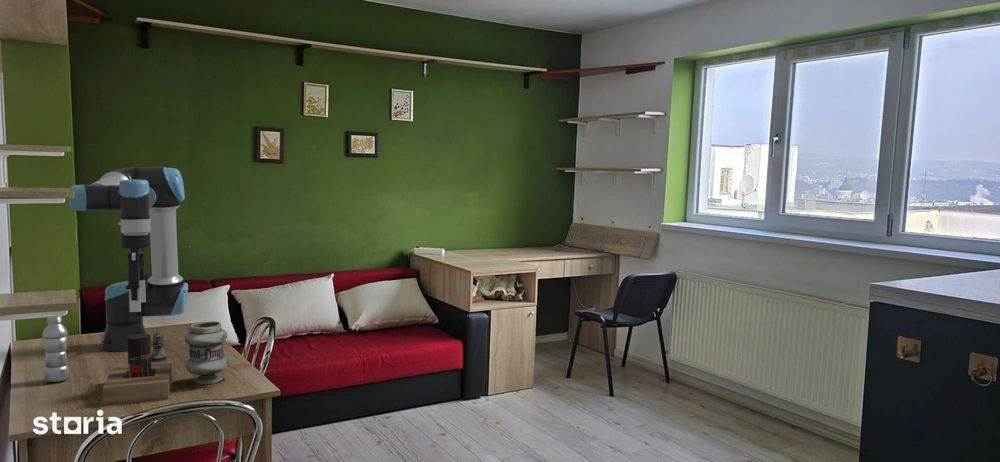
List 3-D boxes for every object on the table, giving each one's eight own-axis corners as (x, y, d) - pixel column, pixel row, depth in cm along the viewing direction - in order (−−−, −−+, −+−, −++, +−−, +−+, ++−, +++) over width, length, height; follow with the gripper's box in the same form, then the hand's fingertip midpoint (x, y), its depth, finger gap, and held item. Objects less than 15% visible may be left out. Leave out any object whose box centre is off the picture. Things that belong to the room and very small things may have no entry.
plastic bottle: (51, 378, 209) (48, 313, 207) (74, 377, 210) (71, 313, 208) (38, 384, 203) (36, 318, 201) (62, 384, 203) (60, 318, 202)
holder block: (114, 381, 207) (114, 365, 206) (173, 376, 213) (172, 360, 212) (103, 405, 187) (102, 387, 186) (168, 399, 193) (167, 381, 192)
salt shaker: (160, 369, 220) (159, 333, 218) (144, 368, 221) (143, 331, 220) (172, 364, 225) (171, 328, 224) (156, 363, 226) (155, 327, 225)
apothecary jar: (177, 382, 207) (176, 324, 205) (214, 373, 217) (213, 317, 215) (200, 391, 200) (199, 330, 198) (237, 380, 210) (236, 323, 208)
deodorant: (156, 385, 201) (155, 335, 200) (138, 391, 196) (136, 339, 194) (142, 382, 204) (140, 332, 202) (124, 387, 198) (122, 337, 197)
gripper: (126, 229, 206) (128, 299, 208) (114, 238, 183) (117, 316, 185) (154, 229, 208) (156, 298, 210) (146, 237, 186) (148, 314, 187)
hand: (137, 306), depth 198 cm, fingers open, 13 cm apart
